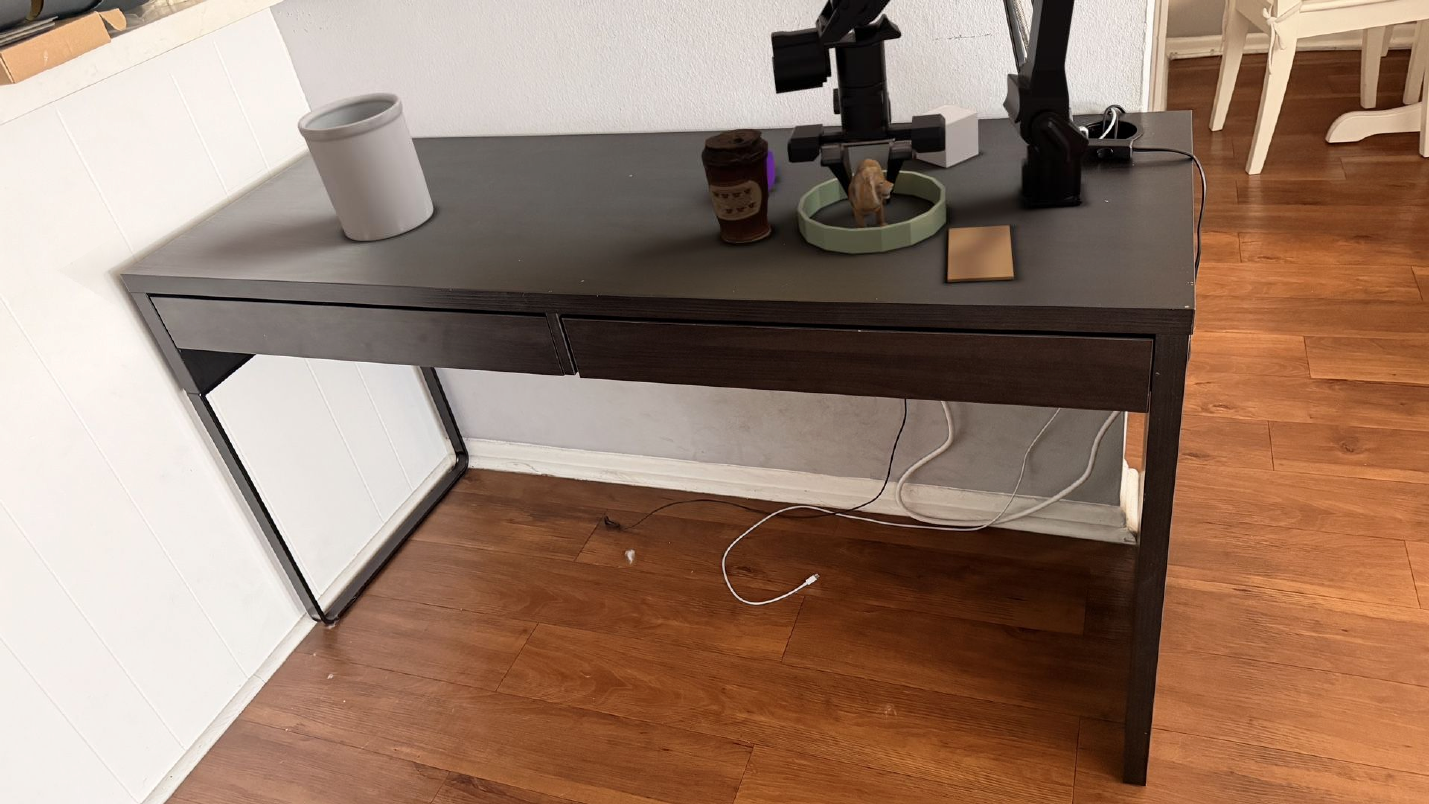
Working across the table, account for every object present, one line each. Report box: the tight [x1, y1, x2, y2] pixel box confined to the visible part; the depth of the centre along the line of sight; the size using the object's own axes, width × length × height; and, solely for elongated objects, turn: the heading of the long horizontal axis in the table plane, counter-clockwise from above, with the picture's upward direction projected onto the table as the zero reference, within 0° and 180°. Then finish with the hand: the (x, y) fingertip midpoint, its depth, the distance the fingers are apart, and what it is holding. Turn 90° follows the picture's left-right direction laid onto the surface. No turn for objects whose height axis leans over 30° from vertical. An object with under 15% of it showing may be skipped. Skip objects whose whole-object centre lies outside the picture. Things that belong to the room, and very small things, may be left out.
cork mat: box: [947, 224, 1014, 283], centre depth 118 cm, size 7×13×1 cm, turn 169°
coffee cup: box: [700, 128, 772, 244], centre depth 129 cm, size 9×8×13 cm
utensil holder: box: [297, 92, 434, 242], centre depth 151 cm, size 15×15×18 cm
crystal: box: [767, 149, 776, 191], centre depth 145 cm, size 5×5×15 cm
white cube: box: [915, 103, 979, 169], centre depth 142 cm, size 6×6×6 cm
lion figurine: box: [848, 158, 894, 228], centre depth 127 cm, size 15×5×9 cm, turn 179°
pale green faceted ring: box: [796, 169, 947, 254], centre depth 129 cm, size 18×18×3 cm
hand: (871, 204), depth 128 cm, fingers closed on lion figurine, 4 cm apart
